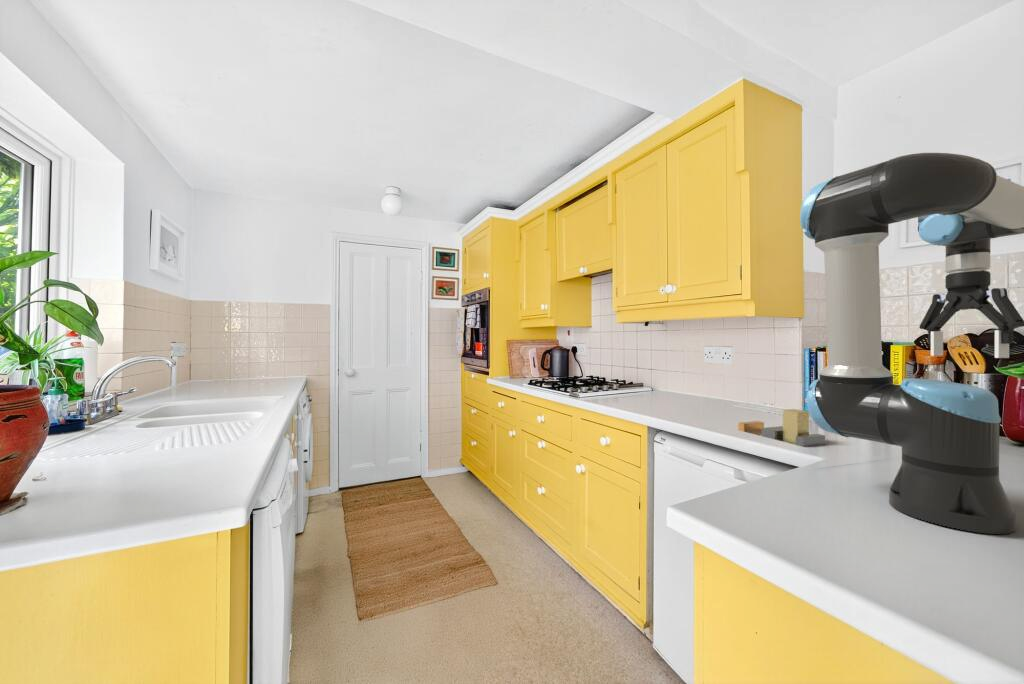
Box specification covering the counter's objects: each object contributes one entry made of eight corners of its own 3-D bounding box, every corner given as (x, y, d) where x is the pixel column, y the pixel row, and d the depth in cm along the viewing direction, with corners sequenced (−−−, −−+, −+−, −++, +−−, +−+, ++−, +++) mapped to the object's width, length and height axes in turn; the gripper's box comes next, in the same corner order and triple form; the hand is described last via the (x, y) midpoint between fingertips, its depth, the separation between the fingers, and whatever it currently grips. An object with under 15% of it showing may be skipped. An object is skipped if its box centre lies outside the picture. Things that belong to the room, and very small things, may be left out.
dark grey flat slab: (803, 448, 114) (803, 437, 114) (738, 431, 135) (738, 422, 135) (825, 445, 116) (825, 435, 116) (758, 429, 137) (758, 420, 137)
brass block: (797, 443, 117) (797, 412, 117) (782, 439, 122) (782, 409, 122) (808, 442, 119) (808, 411, 119) (794, 438, 123) (794, 409, 123)
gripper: (1050, 263, 89) (1050, 358, 89) (926, 279, 114) (926, 354, 114) (1019, 262, 89) (1019, 359, 89) (902, 279, 113) (902, 354, 114)
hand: (967, 356), depth 101 cm, fingers open, 13 cm apart
